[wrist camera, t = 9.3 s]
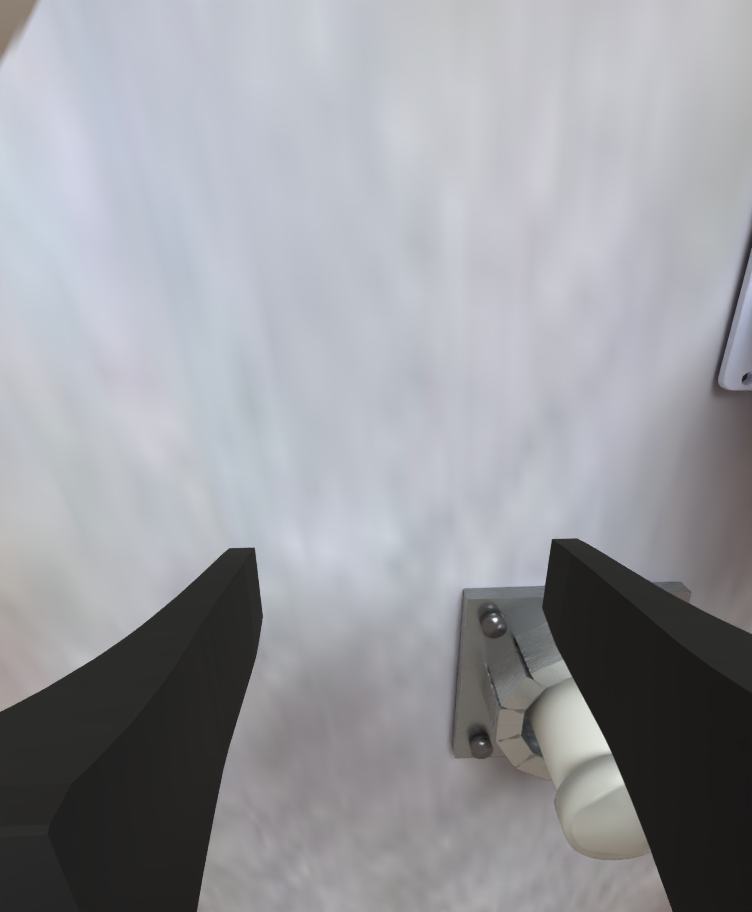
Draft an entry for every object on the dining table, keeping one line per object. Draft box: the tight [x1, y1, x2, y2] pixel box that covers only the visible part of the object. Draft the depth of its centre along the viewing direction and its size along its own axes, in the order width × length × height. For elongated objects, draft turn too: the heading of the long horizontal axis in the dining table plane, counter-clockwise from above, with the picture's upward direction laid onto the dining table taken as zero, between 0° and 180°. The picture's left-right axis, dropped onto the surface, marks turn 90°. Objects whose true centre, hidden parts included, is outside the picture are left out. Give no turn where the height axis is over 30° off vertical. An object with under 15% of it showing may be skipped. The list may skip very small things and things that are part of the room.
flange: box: [453, 582, 691, 781], centre depth 25 cm, size 11×11×3 cm
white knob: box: [526, 677, 651, 860], centre depth 22 cm, size 5×5×7 cm
